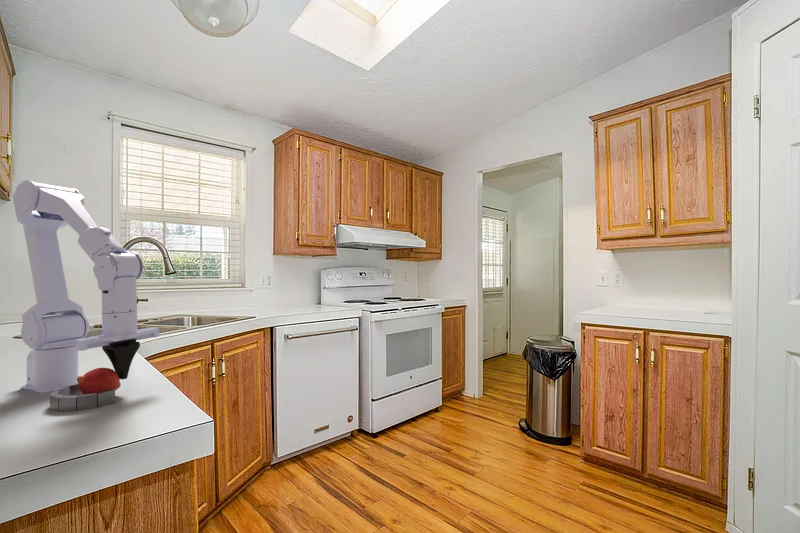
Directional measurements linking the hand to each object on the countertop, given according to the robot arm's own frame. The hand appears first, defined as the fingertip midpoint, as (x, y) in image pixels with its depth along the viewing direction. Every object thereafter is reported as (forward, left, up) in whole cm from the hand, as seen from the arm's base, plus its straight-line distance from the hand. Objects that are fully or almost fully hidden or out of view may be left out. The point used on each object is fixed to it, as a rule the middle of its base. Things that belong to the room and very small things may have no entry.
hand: (121, 378), depth 77 cm
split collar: (-1, -5, -3) cm, 6 cm away
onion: (0, 0, -2) cm, 2 cm away
